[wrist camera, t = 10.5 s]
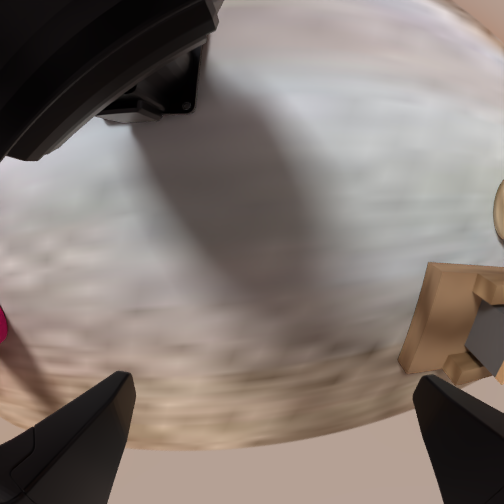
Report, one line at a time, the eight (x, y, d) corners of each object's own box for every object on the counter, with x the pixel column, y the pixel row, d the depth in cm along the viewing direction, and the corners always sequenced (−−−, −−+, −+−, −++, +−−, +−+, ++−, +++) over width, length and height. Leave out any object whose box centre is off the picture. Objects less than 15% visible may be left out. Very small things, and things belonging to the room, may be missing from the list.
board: (428, 262, 20) (462, 285, 15) (508, 267, 20) (538, 285, 16) (397, 360, 22) (419, 393, 18) (478, 348, 23) (501, 372, 18)
